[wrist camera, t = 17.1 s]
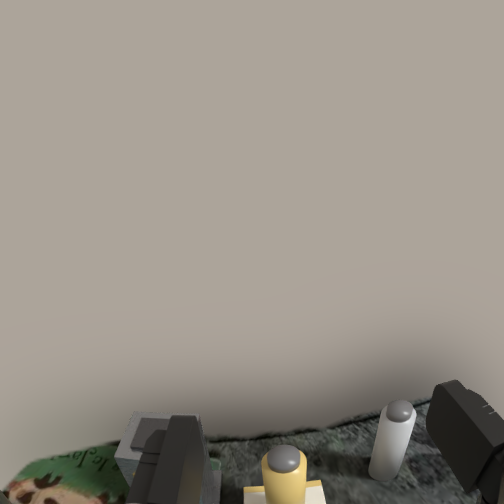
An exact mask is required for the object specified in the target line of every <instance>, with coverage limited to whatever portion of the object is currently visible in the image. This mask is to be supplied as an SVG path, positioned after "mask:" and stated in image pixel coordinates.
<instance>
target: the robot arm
mask: <svg viewBox="0 0 504 504" xmlns="http://www.w3.org/2000/svg"><path fill="white" fill-rule="evenodd" d="M426 429H427V431H428V433H429V435H430V437H431V438H432V440H433V441H434V443H435V444H436V446H437V447H438V449H439V451H440V452H441V454H442V455H443V457H444V458H445V460H446V462H447V463H448V465H449V466H450V468H451V470H452V471H453V473H454V474H455V476H456V478H457V479H458V481H459V482H460V484H461V486H462V487H463V489H464V491H465V492H466V494H468V493H470V492H472V491H474V490H476V489H479V490H480V494H479V495H478V498H477V502H476V504H504V420H503V419H502V418H501V417H500V416H499V415H498V414H497V412H494V409H493V408H492V407H491V406H490V405H489V406H488V403H487V402H486V401H485V400H484V399H483V398H482V397H481V395H479V394H477V393H475V392H473V391H471V390H469V389H468V390H467V389H465V387H464V386H463V385H462V384H461V383H460V382H459V381H458V380H452V381H448V382H445V383H442V384H438V385H436V387H435V389H434V391H433V395H432V399H431V402H430V406H429V409H428V413H427V416H426ZM203 469H204V448H203V443H202V439H201V435H200V430H199V426H198V421H197V418H196V416H195V415H172V416H171V418H170V421H169V424H168V428H167V430H155V431H154V432H153V434H152V435H151V436H150V437H149V438H148V439H147V440H146V443H145V445H144V448H143V451H142V454H141V457H140V460H139V464H138V466H137V469H136V472H135V475H134V478H133V481H132V484H131V487H130V490H129V493H128V496H127V499H126V501H125V503H124V504H199V501H200V493H201V485H202V477H203ZM0 504H11V503H10V501H9V500H8V499H7V498H6V497H5V495H4V494H3V493H2V492H1V490H0Z"/></svg>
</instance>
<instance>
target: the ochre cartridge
mask: <svg viewBox="0 0 504 504" xmlns="http://www.w3.org/2000/svg"><path fill="white" fill-rule="evenodd" d="M306 464H307V461H306V457H305V455H304V454H303V453H302V452H301V451H299V450H298V449H297V448H295V447H293V446H291V445H279V446H276V447H274V448H272V449H271V450H270V451H269V452H268V453H267V454H265V456H264V457H263V459H262V462H261V465H262V473H263V482H264V490H265V498H266V504H305V493H306Z"/></svg>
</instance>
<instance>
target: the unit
mask: <svg viewBox="0 0 504 504" xmlns="http://www.w3.org/2000/svg"><path fill="white" fill-rule="evenodd" d="M172 415H195V416H196V418H197V421H198V426H199V430H200V435H201V439H202V443H203V448H204V469H203V477H202V485H201V493H200V501H199V504H221V491H222V476H223V474H222V470H212V466H211V462H210V458H209V454H208V450H207V445H206V441H205V437H204V432H203V428H202V424H201V419H200V414H182V413H181V414H180V413H178V414H177V413H151V412H133V415H132V417H131V419H130V421H129V424H128V426H127V428H126V431H125V433H124V435H123V437H122V440H121V442H120V444H119V446H118V449H117V451H116V453H115V456H114V458H115V460H116V462H117V464H118V466H119V468H120V470H121V472H122V474H123V476H124V478H125V480H126V481H127V483H128V485H129V487H131V484H132V481H133V478H134V475H135V472H136V469H137V466H138V464H139V460H140V457H141V454H142V451H143V448H144V445H145V443H146V440H147V439H148V438H149V437H150V436H151V435H152V434H153V432H154V431H155V430H167V428H168V424H169V421H170V418H171V416H172Z"/></svg>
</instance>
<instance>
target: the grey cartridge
mask: <svg viewBox="0 0 504 504" xmlns="http://www.w3.org/2000/svg"><path fill="white" fill-rule="evenodd" d="M415 419H416V411H415V410H414V409H413V406H412V404H411V403H409V402H408V401H405V400H395V401H392V402H390V403H389V404H388V405H387V406H386V407H384V408H383V410H382V412H381V416H380V421H379V426H378V431H377V435H376V440H375V444H374V448H373V453H372V457H371V461H370V464H369V468H368V472H369V475H370V476H371V477H372V478H373V479H375V480H378V481H388V480H391V479H393V478H394V477H396V475H397V474H398V472H399V469H400V466H401V463H402V460H403V457H404V454H405V451H406V448H407V445H408V442H409V439H410V436H411V432H412V429H413V426H414V422H415Z"/></svg>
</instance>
